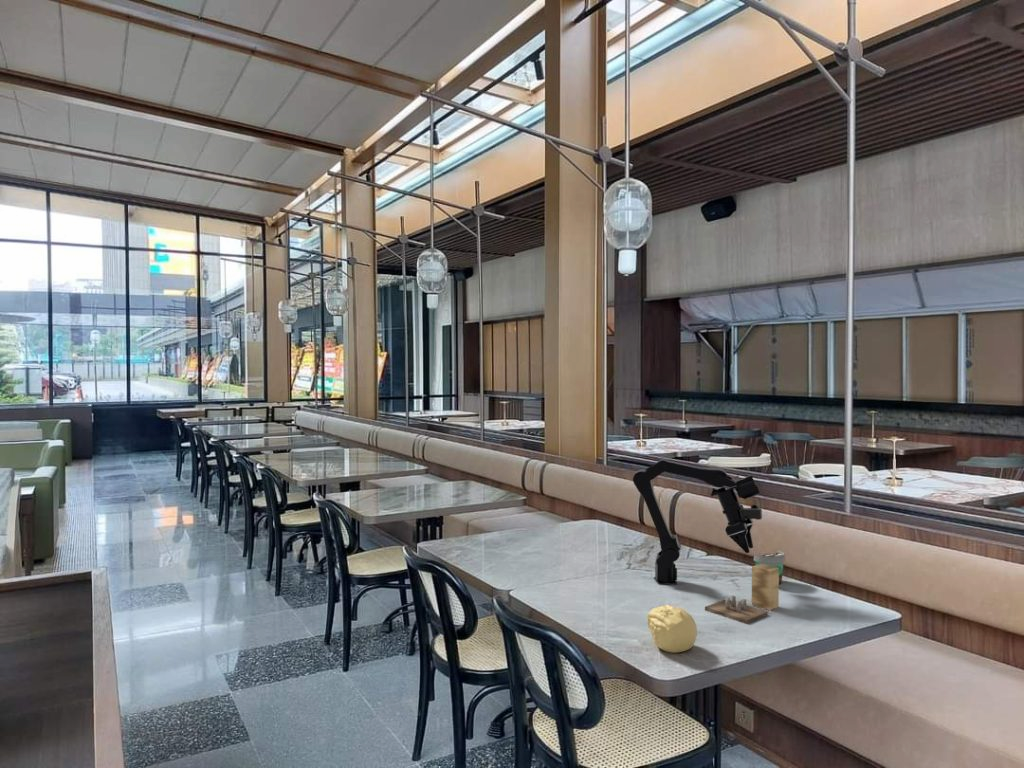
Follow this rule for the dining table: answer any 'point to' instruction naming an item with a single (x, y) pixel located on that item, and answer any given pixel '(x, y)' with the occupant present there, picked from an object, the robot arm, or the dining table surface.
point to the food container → (772, 561)
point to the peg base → (736, 610)
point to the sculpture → (672, 628)
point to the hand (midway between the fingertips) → (749, 550)
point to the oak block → (765, 586)
